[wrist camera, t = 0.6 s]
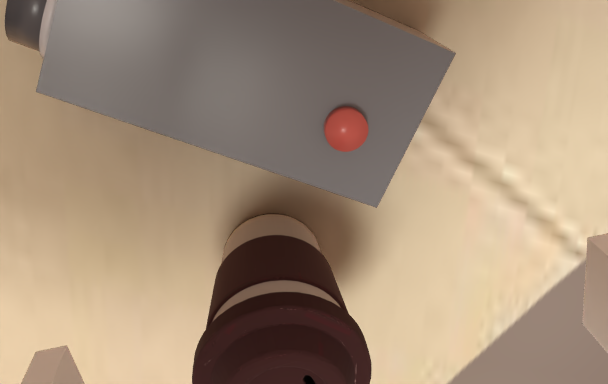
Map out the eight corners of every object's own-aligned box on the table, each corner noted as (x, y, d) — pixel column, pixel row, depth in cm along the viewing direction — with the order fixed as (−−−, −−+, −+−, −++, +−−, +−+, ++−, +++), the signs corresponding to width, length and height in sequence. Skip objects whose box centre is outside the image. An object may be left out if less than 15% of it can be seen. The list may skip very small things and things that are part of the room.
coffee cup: (189, 290, 44) (167, 452, 30) (228, 178, 40) (222, 307, 27) (308, 318, 46) (337, 481, 33) (355, 215, 43) (408, 351, 29)
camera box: (32, 47, 35) (-20, 78, 28) (75, -144, 31) (27, -163, 24) (355, 163, 41) (379, 213, 34) (427, 14, 37) (471, 35, 30)
